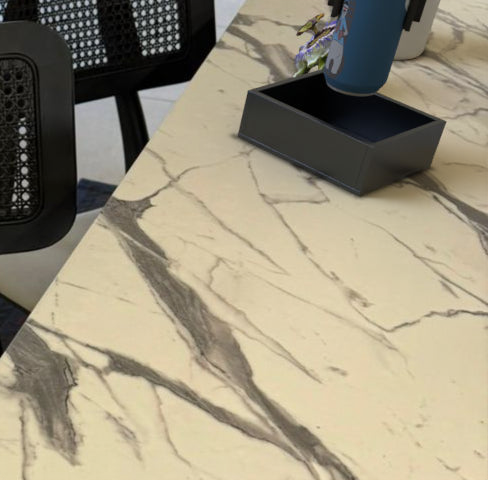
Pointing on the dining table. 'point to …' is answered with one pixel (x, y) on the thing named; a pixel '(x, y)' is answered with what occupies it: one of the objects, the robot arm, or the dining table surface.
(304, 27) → the passion flower
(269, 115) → the dark grey open box
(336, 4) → the robot arm
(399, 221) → the dining table surface
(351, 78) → the soda can
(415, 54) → the cylinder vase
